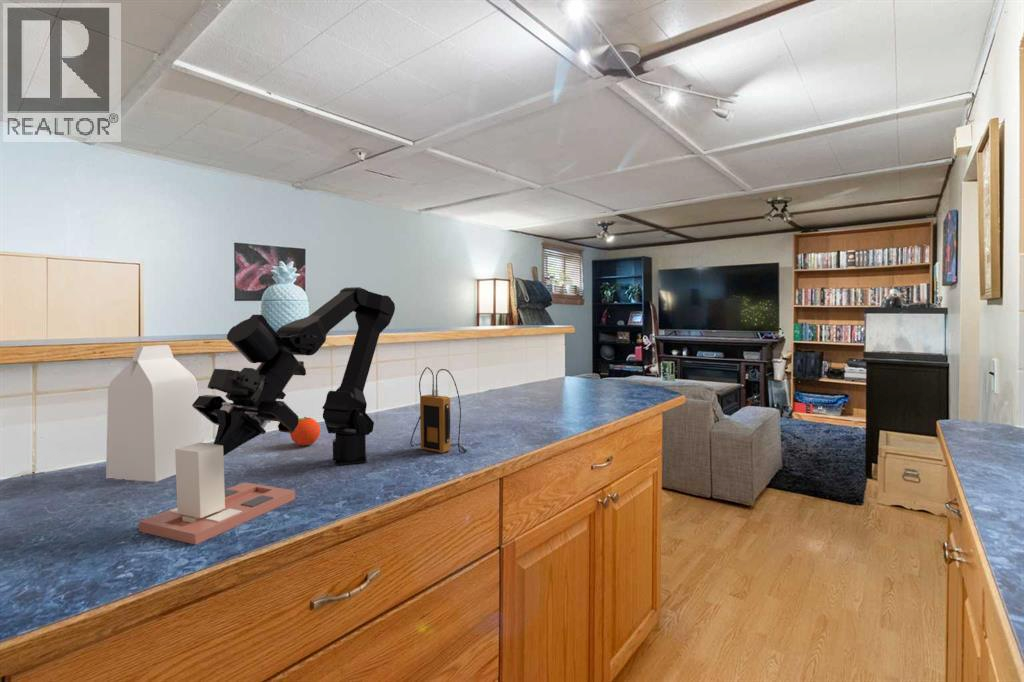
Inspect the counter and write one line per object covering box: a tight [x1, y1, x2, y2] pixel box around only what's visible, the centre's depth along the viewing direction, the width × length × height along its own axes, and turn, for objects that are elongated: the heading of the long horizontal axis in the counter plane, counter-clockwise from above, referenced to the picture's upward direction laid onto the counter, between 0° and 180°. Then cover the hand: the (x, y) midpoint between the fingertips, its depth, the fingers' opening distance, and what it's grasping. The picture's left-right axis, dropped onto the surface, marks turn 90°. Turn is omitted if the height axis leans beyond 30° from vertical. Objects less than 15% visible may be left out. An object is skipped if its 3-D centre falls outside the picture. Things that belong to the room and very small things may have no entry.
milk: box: [105, 344, 204, 483], centre depth 99 cm, size 12×12×26 cm
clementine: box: [289, 416, 321, 447], centre depth 119 cm, size 8×7×7 cm
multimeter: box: [410, 366, 468, 454], centre depth 117 cm, size 15×10×20 cm
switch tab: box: [175, 442, 225, 523], centre depth 74 cm, size 4×5×11 cm
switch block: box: [138, 481, 296, 546], centre depth 78 cm, size 18×12×2 cm, turn 159°
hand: (213, 457), depth 76 cm, fingers closed, pressing on switch tab
